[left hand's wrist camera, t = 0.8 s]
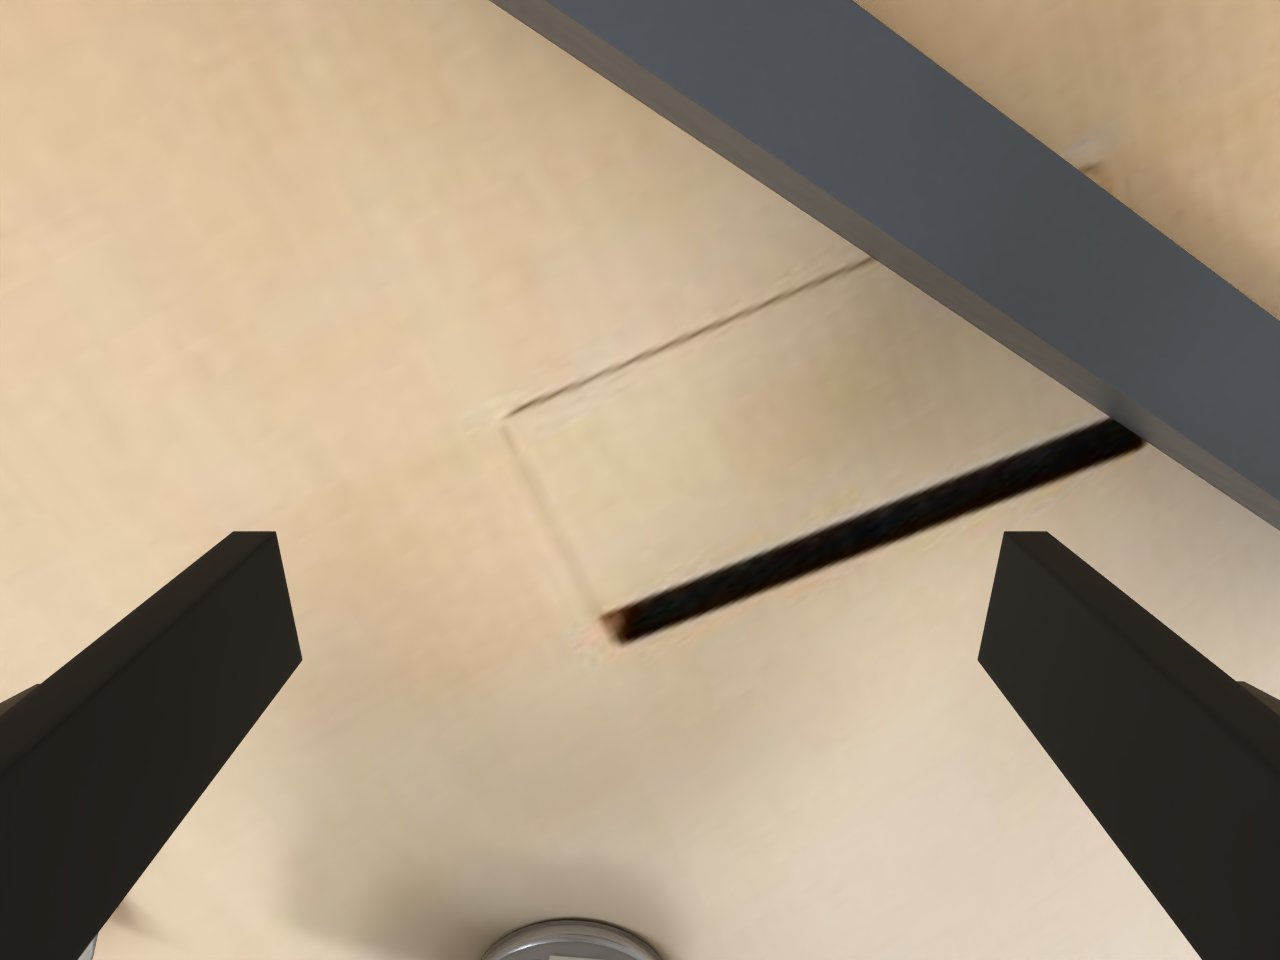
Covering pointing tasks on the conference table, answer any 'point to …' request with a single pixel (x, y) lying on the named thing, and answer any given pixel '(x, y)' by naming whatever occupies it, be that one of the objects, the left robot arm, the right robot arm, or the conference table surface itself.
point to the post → (957, 210)
